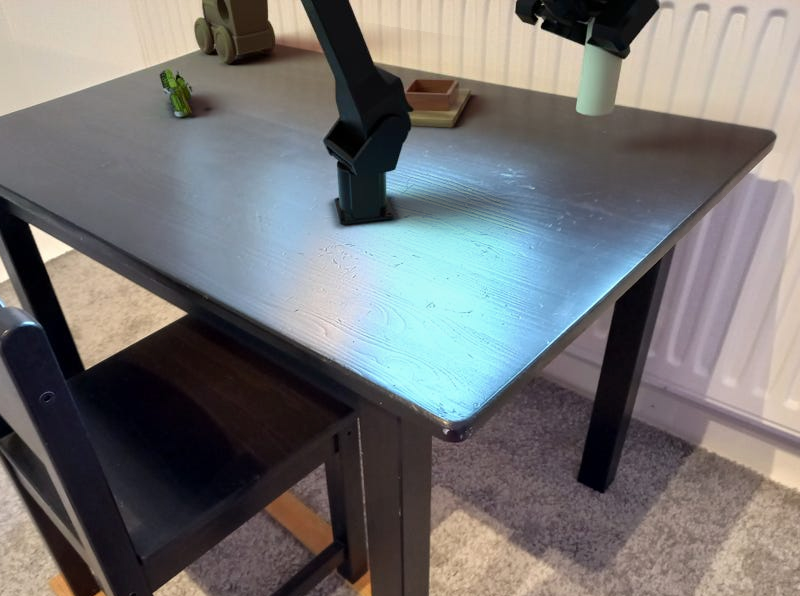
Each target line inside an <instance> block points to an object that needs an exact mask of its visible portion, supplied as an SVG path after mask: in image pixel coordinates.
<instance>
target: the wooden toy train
mask: <svg viewBox="0 0 800 596" xmlns="http://www.w3.org/2000/svg"><path fill="white" fill-rule="evenodd" d="M268 2H269V1H268V0H201V8H202V15H203V17H201V16H200V17H198V18H197V19H196V20H195V22H194V25H193V31H194V37H195V40H196V44H197V45H198V48H199V49H200V51H201V52H203V53H204V54H206V55H210V54H211V53H212V52H213V51H214V48H215V50H216V53H217V55H218V57H219V59H220V60H221V61H222V62H223V63H224V64H226V65H231V64H232V63H234V61H235V58H236V55H237V56H241V55H246V54H250V53H253V52H259V51H260V52H261V53H262V54H264V55H271V54H272V53H273V52H274V51H275V47H276V33H275V30H274V27H273V25H272V22H270V20H269V3H268Z"/></svg>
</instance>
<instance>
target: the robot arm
mask: <svg viewBox="0 0 800 596" xmlns="http://www.w3.org/2000/svg"><path fill="white" fill-rule="evenodd" d="M300 2H301V5H302V7H303V9H304V12H305V14H306V16H307V18H308V20H309V23H310V25H311V27H312V30H313V31H314V34H315V37H316V38H317V41H318V43H319V45H320V47H321V50H322V52H323V54H324V57H325V59H326V61H327V64H328V65H329V68H330V70H331V73H332V75H333V78H334V87H335V89H334V91H335V93H334V94H335V97H334V99H335V104H336V107H337V112H338V115H339V117H338V118H337V119H336V121H335V123H334V124H333V125H332V126H331V128H330V129H329V131H328V132H327V133H326V135H325V137H324V138H323V139H322V143H323V145H324V147H325V150H326V151H327V153H328V155H329V156H330V157H333V158H334V159H335V160H337V162H336V171H337V187H338V197H335V198H334V207H335V211H336V214H337V219H338V223H339V225H351V224H359V223H361V224H362V223H368V222H377V221H384V220H385V221H386V220H393V219H394V216H395V215H394V211H393V208H392V205H391V203H390V201H389V197H388V195H387V192H388V191H387V173H388V172H389V173H390V172H393V171H395V170H396V169H397V165H398V163H399V159H400V156H401V152H402V149H403V145H404V144H405V142H406V140H407V138H408V137H409V133H410V132H411V131H412V126H411V119H410V115H409V113H408V112H413V111H414V109H413V108H412V107H411V106H410V105H409V103H408V101H407V100H406V96H405V92H404V89H405V87H404V86H405V85H404V83H403V81H402V79H401V77H400V76H398V75H396V74H393V73H392V72H390V71H388V70H386V69H385V68H383V67H380V66H378V65H377V64H375V63H374V60H373V57H372V54H371V52H370V50H369V47H368V45H367V43H366V40H365V37H364V35H363V32H362V29H361V27H360V25H359V21H358V19H357V17H356V15H355V11H354V9H353V6H352V5H351V1H350V0H300ZM660 7H661V5H660V0H516V1H515V7H514V13H515V15H516V16H517V18H519V20H520V21H521V22H522V23H524V24H527V25H531V26H534V27H535V26H536V25H537V24H538V22H539V18H541V19H542V23H541V24H540V29H541V30H542V31H545V32H547V33H550V34H553V35H555V36H558V37H561V38H563V39H564V40H565V39H566V40H568V41H571V42H573V43H576V44H578V45H581V46H583V47H585V43H587V44H589V45H591V46H594V47H596V48H598V49H601V50H603V51H605V52H607V53H610V54H612V55H614V56H616V57H619V58H621V59H623V60H626V59H627V58H628V57H629V55H630V53H631V44H632V43H633V42H634V40H635V39H636V38H637V36H639V34H640V33H641V32H642V30H643V29H644V28H645V27H646V25H647V24H648V23H649V22H650V21H651V19H652V18H653V17H654V16H655V14H656V13H657V12H658V11H659V9H660ZM593 18H595V19H594V23H593V27H592V33H591V37H590V38H589V40H588V41H587V42H586V36H587V29H588V24H589V23H590V22H591V21H592V20H593Z"/></svg>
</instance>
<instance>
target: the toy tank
mask: <svg viewBox="0 0 800 596" xmlns="http://www.w3.org/2000/svg"><path fill="white" fill-rule="evenodd" d="M158 76H159V78H160V81H161V85H162V89H163V92H164V94H166V95H169V96H168V99H169V103H170V106H171V109H172V113H173V114H174V116H175V117H178V118H182V117H187V116H188V115H189V114H192V110H191V108H190V107H191V106H190V104H189V103H188V100H191V98H192V94H191V93H193V86H191V85H190V84H189V82H186V80H185V78H184V77H182V76H180V73H179V71H176V74H175V76H174V74H173V72H172V70H171V69H170V68H168V67H167V68H165V69H163V70H162V71H161V73H160V74H159V75H158Z"/></svg>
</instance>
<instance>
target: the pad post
mask: <svg viewBox="0 0 800 596" xmlns="http://www.w3.org/2000/svg"><path fill="white" fill-rule="evenodd" d="M594 19H595V18H593V20H592V21H591V22H590V23H589V24H588V29H587V36H586V42H587V41H588V40H589V38H590V37H591V33H592V27H593V23H594ZM623 60H624V59H621V58H619V57H616V56H614V55H612V54H610V53H607V52H605V51H603V50H601V49H598V48H596V47H594V46H591V45H589V44H587V43H585V46H584V50H583V58H582V64H581V70H580V79H579V84H578V92H577V97H576V98H577V99H576V106H575V111H576V112H577V113H579V114H581V115H584V116H590V117H601V116H602V117H603V116H607V115H610V114H612V113H613V112H614V109H615V105H616V104H615V103H616V99H617V93H618V87H619V82H620V78H621V77H620V76H621V72H622V71H621V70H622V64H623Z"/></svg>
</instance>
